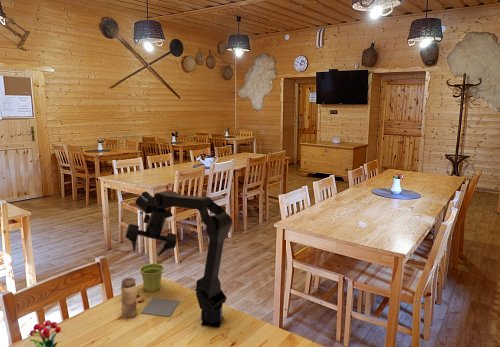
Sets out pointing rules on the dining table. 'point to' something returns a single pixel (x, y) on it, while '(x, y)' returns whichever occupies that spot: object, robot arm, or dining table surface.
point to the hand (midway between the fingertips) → (146, 253)
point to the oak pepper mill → (128, 298)
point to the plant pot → (151, 276)
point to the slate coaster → (160, 307)
